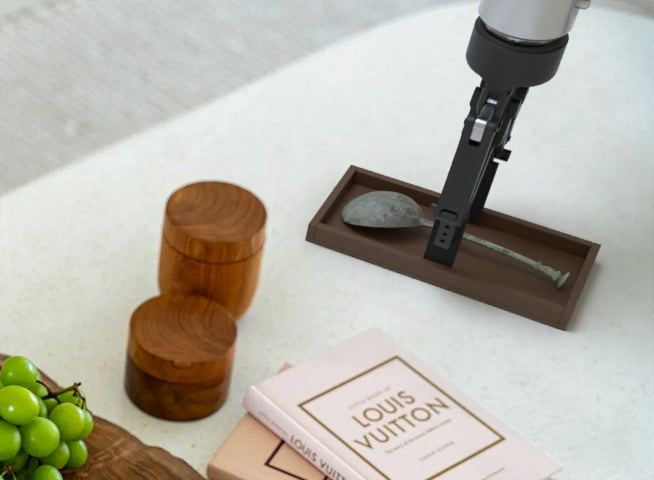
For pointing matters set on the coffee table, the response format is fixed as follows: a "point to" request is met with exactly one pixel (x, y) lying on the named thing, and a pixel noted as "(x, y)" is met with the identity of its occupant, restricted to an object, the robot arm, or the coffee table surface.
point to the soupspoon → (418, 223)
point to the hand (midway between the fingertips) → (451, 240)
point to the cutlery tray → (463, 251)
